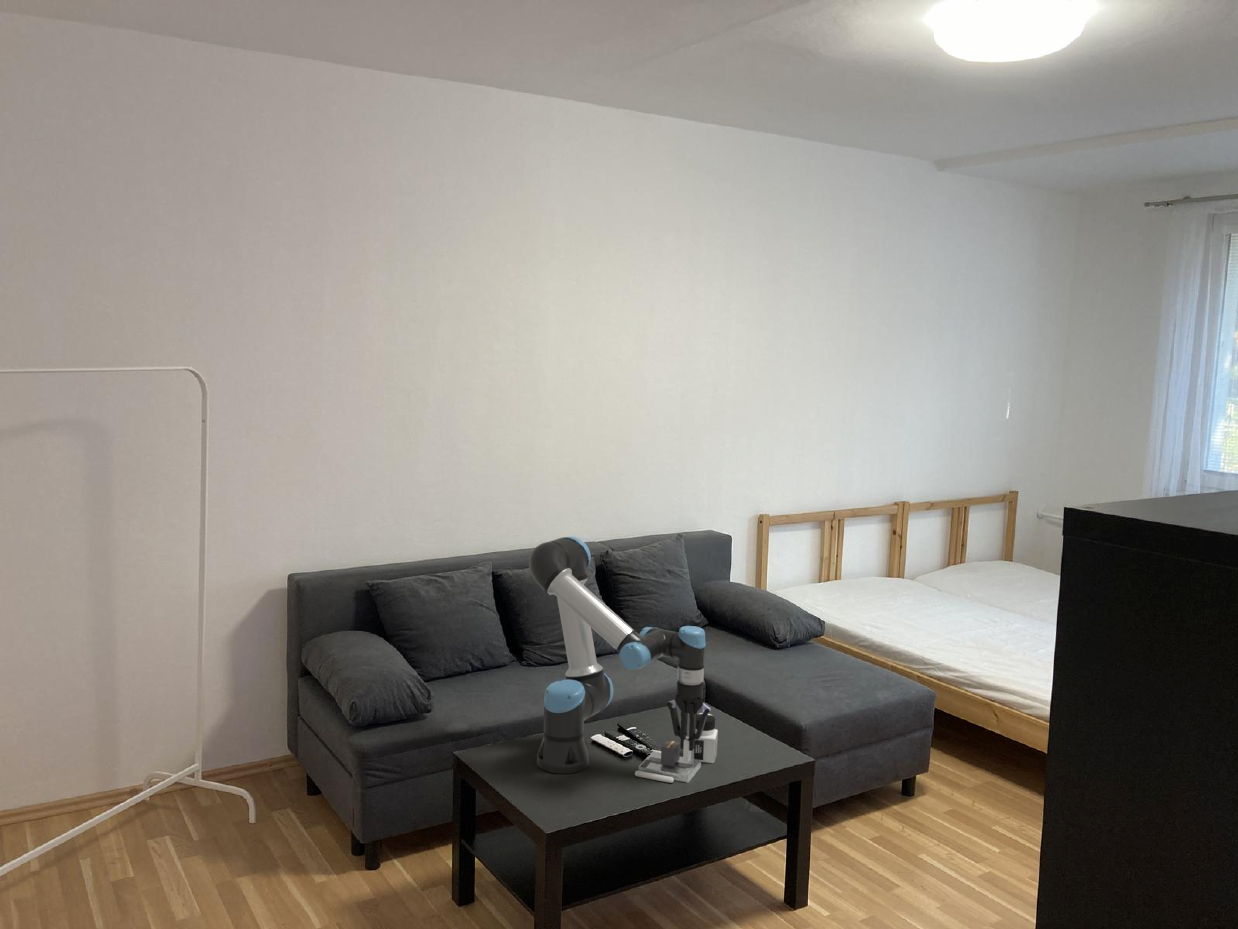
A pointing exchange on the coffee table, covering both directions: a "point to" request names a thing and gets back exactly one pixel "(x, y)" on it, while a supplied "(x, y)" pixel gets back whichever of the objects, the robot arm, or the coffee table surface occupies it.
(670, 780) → the rod
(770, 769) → the coffee table surface
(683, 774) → the panel
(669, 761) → the toggle
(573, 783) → the coffee table surface
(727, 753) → the coffee table surface
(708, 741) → the container
